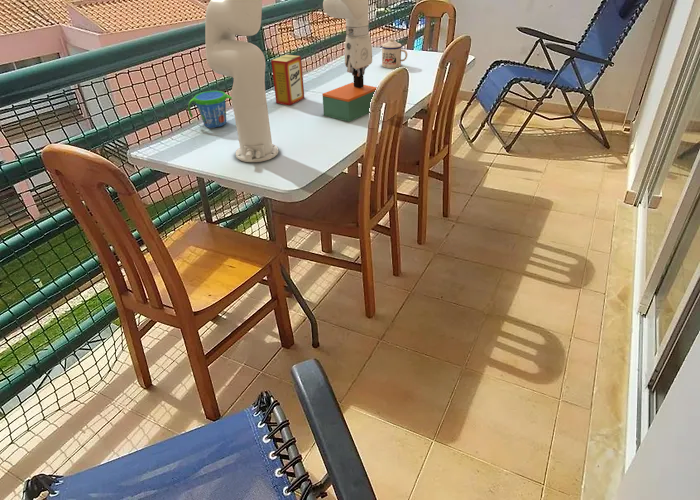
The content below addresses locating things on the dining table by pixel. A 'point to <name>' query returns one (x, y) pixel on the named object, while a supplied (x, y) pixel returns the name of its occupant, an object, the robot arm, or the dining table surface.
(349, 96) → the lid
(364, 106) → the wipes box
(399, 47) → the teacup with lid
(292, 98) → the baking soda box
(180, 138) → the dining table surface
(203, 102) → the snack cup
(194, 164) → the dining table surface
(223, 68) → the robot arm
